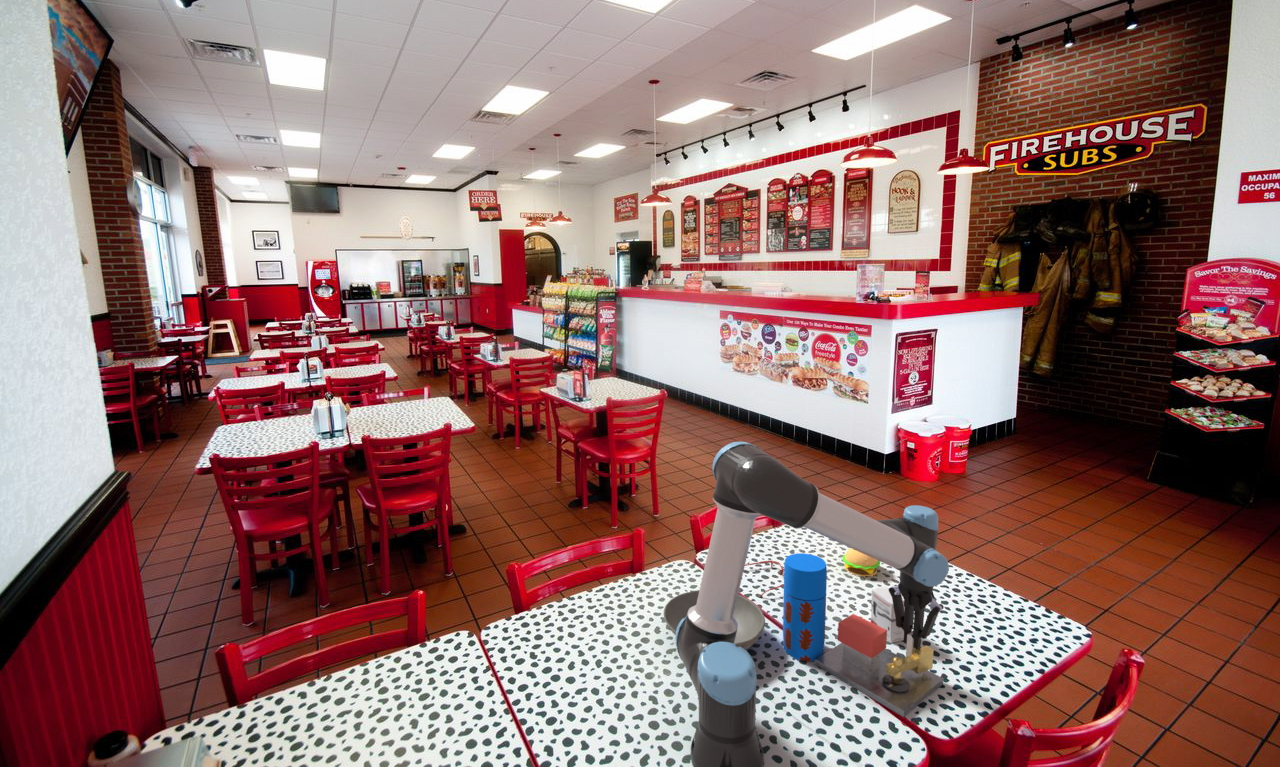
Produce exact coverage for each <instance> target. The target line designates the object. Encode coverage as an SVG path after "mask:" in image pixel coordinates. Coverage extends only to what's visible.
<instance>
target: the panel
mask: <svg viewBox="0 0 1280 767" xmlns="http://www.w3.org/2000/svg"><path fill="white" fill-rule="evenodd" d="M894 657H899V658H900V659H902V658H903V656H900V655H898V654H897V653H894V652H892V651H891V650H889V649H887V648H886V649H885V650H883V651H882V652H880V653H879V654H877V655H876V656H874V657H873V658H870V657H868V656H866V655H864V654H862V653H860V652H858V651H856V650H855V649H853V648H851V647H849V646H847V645H845V644H843V643H841V642H840V643H838V644H837V645H836V646H834V647H832V648H831V649H828V651H826V652H824V653H823V655H821V656H820V657H818V658H816V659H815V660H814V665H815V666H817V667H818V668H820V669H822V670H823V671H825V672H827V673H829V674H830V675H832V676H833V677H835V678H837V679H839V680H840V681H842V682H844V683H845V684H847V685H849V686H850V687H852V688H854V689H856V690H858V692H860V693H862V694H864V695H865V696H867V697H869V698H871V699H872V700H874V701H876V702H877V703H879V704H881V705H882V706H885V707H886V708H888V709H889V710H891V711H892V712H894V713H895V714H897V715H899V716H901V717H902V718H904V717H906V716H907V715H908V714H909V713H910V712H912V710H914V709H915V708H916V707H918V705H920V704H921V703H922V702H923V701H924V700H926V699H927V698H928V697H930V696H931V695H932V694H933V693H934V692H936V691H937V690H938V689H940V687H941V686H943V685H944V679H945V678H944V677H942V676H940V675H939V674H936V673H933V672H932V671H930V670H927V671H924V672H922V673H919V674H917V673H915V672H914V671H913V670H911V669H910V670H907V671H904V672H902V673H901V682H900V683H899V684H896V683H893V682H892V680H891V679H892V676H891V675H889V674H888V673H887V672H886V664H888V663H891V662H892V659H893V658H894Z"/></svg>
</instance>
